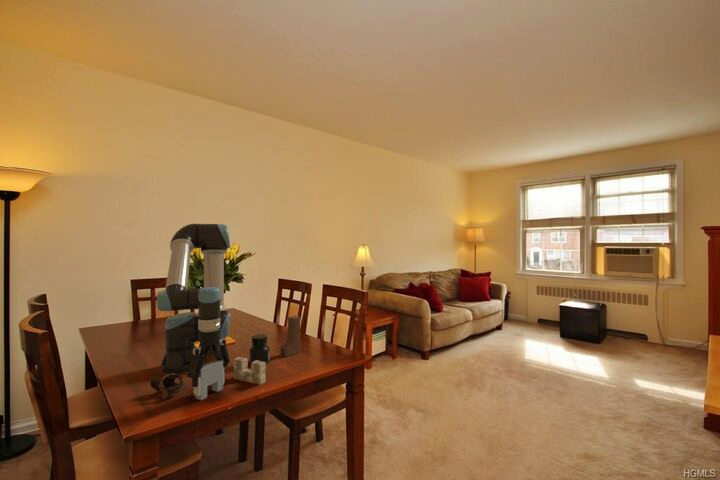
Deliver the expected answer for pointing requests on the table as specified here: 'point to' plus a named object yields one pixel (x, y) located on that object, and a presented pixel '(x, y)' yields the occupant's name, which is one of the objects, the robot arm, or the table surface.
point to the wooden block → (292, 337)
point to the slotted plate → (211, 377)
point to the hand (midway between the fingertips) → (209, 388)
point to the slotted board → (250, 371)
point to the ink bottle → (259, 349)
